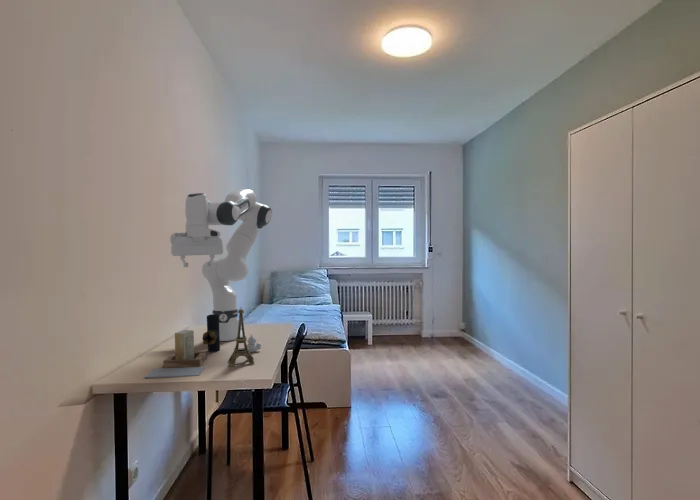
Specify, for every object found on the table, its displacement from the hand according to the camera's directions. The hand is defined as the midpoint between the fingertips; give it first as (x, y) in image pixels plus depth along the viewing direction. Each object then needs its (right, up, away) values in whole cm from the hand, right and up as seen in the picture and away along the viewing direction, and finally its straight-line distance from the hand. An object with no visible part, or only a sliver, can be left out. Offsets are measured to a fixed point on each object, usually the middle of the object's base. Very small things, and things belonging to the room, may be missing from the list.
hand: (197, 266), depth 183 cm
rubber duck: (+21, -37, +6) cm, 43 cm away
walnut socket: (-1, -37, -10) cm, 38 cm away
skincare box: (-2, -37, -10) cm, 38 cm away
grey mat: (0, -37, -24) cm, 44 cm away
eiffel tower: (+21, -37, -12) cm, 44 cm away
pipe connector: (+4, -37, +7) cm, 38 cm away
